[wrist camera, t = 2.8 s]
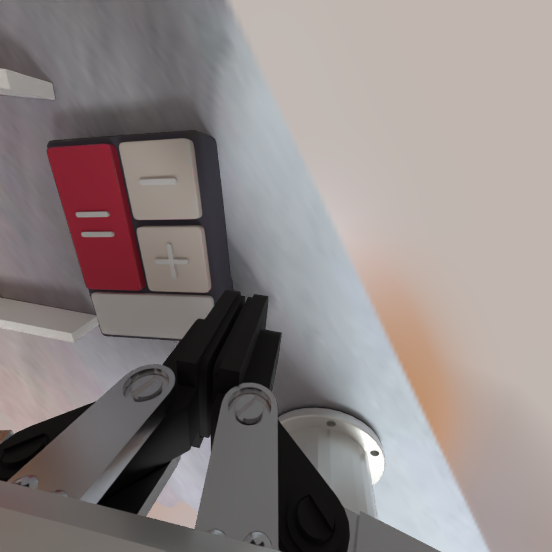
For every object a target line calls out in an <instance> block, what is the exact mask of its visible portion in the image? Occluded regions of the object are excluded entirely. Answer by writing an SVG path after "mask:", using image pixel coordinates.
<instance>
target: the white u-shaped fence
mask: <svg viewBox="0 0 552 552" xmlns="http://www.w3.org/2000/svg"><path fill="white" fill-rule="evenodd" d="M0 95H9V96H19V97H29V98H39V99H49V100H55V95H54V90H53V85H52V83H50V82H47V81H43V80H40V79H37V78H33V77H30V76H27V75H24V74H20V73H17V72H14V71H10V70H7V69H0ZM98 325H99V323H98V320H97V316H96V315H91V314H86V313H81V312H75V311H70V310H65V309H59V308H54V307H48V306H43V305H38V304H32V303H27V302H22V301H16V300H11V299H6V298H0V328H3V329H8V330H13V331H18V332H23V333H28V334H33V335H38V336H43V337H48V338H53V339H58V340H63V341H68V342H73V343H74V342H75V341H77V340H78V339H80V338H81V337H82V336H84V335H85V334H87V333H88V332H89V331H91V330H92V329H93V328H95V327H96V326H98Z"/></svg>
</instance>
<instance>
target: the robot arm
mask: <svg viewBox="0 0 552 552" xmlns="http://www.w3.org/2000/svg"><path fill="white" fill-rule="evenodd" d="M267 308H268V296H263V295H257V294H254V295H253V297H248V298H247V300H246V302H245V296H241V293H240V292H239V291H232V290H225V291H224V292H223V294H222V295H221V297H220V298H219V300H218V301H217V302H216V304H215V305H214V307H213V308H212V309H211V311H210V312H209V314H208V315H207V317H206V318H205V319H200V318H199V319H197V320H196V321H195V322H194V324H193V325H192V326H191V328H190V329H189V330H188V332H187V333H186V334H185V336H184V337H183V338H182V340H181V341H180V342H179V344H178V345H177V346H176V348H175V349H174V350H173V351H172V353H171V354H170V355H169V357H168V358H167V359H166V361H165V362H164V363H163V365H158V364H153V365H146V366H142V367H139V368H137V369H134V370H132V371H131V372H129V373H128V374H127V375H125V376H124V377H123V378H122V379H121V380H120V381H118V382H117V383H116V384H115V385H114V386H113V387H112V388H111V389H109V390H108V391H107V392H106V393H105V394H104V395H103V396H102V397H101V398H99V399H98V400H97V401H96V402H93V403H90V404H88V405H85V406H83V407H80V408H77V409H75V410H72V411H69V412H67V413H64V414H62V415H59V416H56V417H54V418H51V419H48V420H46V421H43V422H41V423H38V424H35V425H33V426H30V427H28V428H26V429H23V430H21V431H19V432H17V433H15V434H13V432H12V430H0V552H440V551H438V550H436V549H435V548H433V547H431V546H429V545H427V544H425V543H423V542H421V541H419V540H417V539H415V538H413V537H411V536H409V535H407V534H405V533H403V532H401V531H399V530H397V529H395V528H393V527H391V526H389V525H387V524H385V523H384V522H382V521H380V520H378V515H377V509H376V503H375V497H374V491H373V485H374V484H375V483H376V482H377V481H378V480H379V479H380V477H381V476H382V474H383V472H384V468H385V456H384V452H383V448H382V444H381V442H380V440H379V438H378V437H377V435H376V434H375V433H374V432H373V431H372V429H370V428H369V427H368V426H367V425H366V424H364V423H363V422H361V421H360V420H358V419H356V418H354V417H353V416H350V415H348V414H345V413H343V412H340V411H335V410H331V409H325V408H303V409H297V410H293V411H290V412H287V413H285V414H283V415H281V416H279V417H278V407H277V401H276V398H275V396H274V395H273V393H272V388H273V383H274V378H275V373H276V368H277V362H278V356H279V350H280V342H281V334H282V333H280V332H274V331H269V330H265V328H266V318H267ZM210 435H211V455H210V460H209V465H208V469H207V474H206V479H205V483H204V488H203V493H202V497H201V502H200V507H199V511H198V516H197V521H196V525H195V529H191V528H188V527H184V526H180V525H176V524H172V523H168V522H165V521H160V520H157V519H153V518H149V517H146V516H147V514H148V512H149V511H150V509H151V507H152V506H153V504H154V503H155V501H156V499H157V498H158V496H159V494H160V493H161V491H162V490H163V488H164V486H165V485H166V483H167V481H168V480H169V478H170V477H171V475H172V473H173V472H174V470H175V468H176V467H177V465H178V463H179V460H180V458H181V455H182V454H183V453H185V452H187V451H189V450H190V448H191V446H193V447H197V448H200V445H201V443H202V440H203V438H204V437H207V438H209V437H210Z"/></svg>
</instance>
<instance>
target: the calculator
mask: <svg viewBox="0 0 552 552" xmlns="http://www.w3.org/2000/svg"><path fill="white" fill-rule="evenodd" d="M47 148H48V149H47V155H48V158H49V162H50V165H51V169H52V172H53V175H54V179H55V182H56V186H57V189H58V192H59V196H60V199H61V203H62V206H63V209H64V213H65V216H66V220H67V223H68V226H69V230H70V233H71V237H72V240H73V243H74V247H75V250H76V254H77V257H78V260H79V264H80V267H81V271H82V274H83V277H84V281H85V284H86V286H87V288H88V289H89V292H90V296H91V299H92V302H93V306H94V309H95V313H96V316H97V320H98V323H99V326H100V330H101V332H102V334H103V335H105V336H113V337H128V338H144V339H160V340H176V341H181V340H182V338H183V337H184V336H185V334H186V333H187V332H188V330H189V329H190V328H191V326H192V325H193V324H194V322H195V321H196V320H197V319H199V318H200V319H205V318H206V317H207V315H208V314H209V312H210V311H211V309H212V308H213V307H214V305H215V304H216V302H217V301H218V300H219V298H220V297H221V295H222V294H223V292H224V291H225V290H232V291H233V283H232V279H231V276H230V266H229V256H228V245H227V235H226V225H225V215H224V206H223V197H222V188H221V179H220V170H219V162H218V153H217V145H216V141H215V139H214V138H213V137H211V136H208V135H206V134H203V133H201V132H198V131H195V130H189V131H175V132H161V133H147V134H133V135H119V136H106V137H92V138H78V139H64V140H52V141H49V142H48V144H47Z"/></svg>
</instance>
